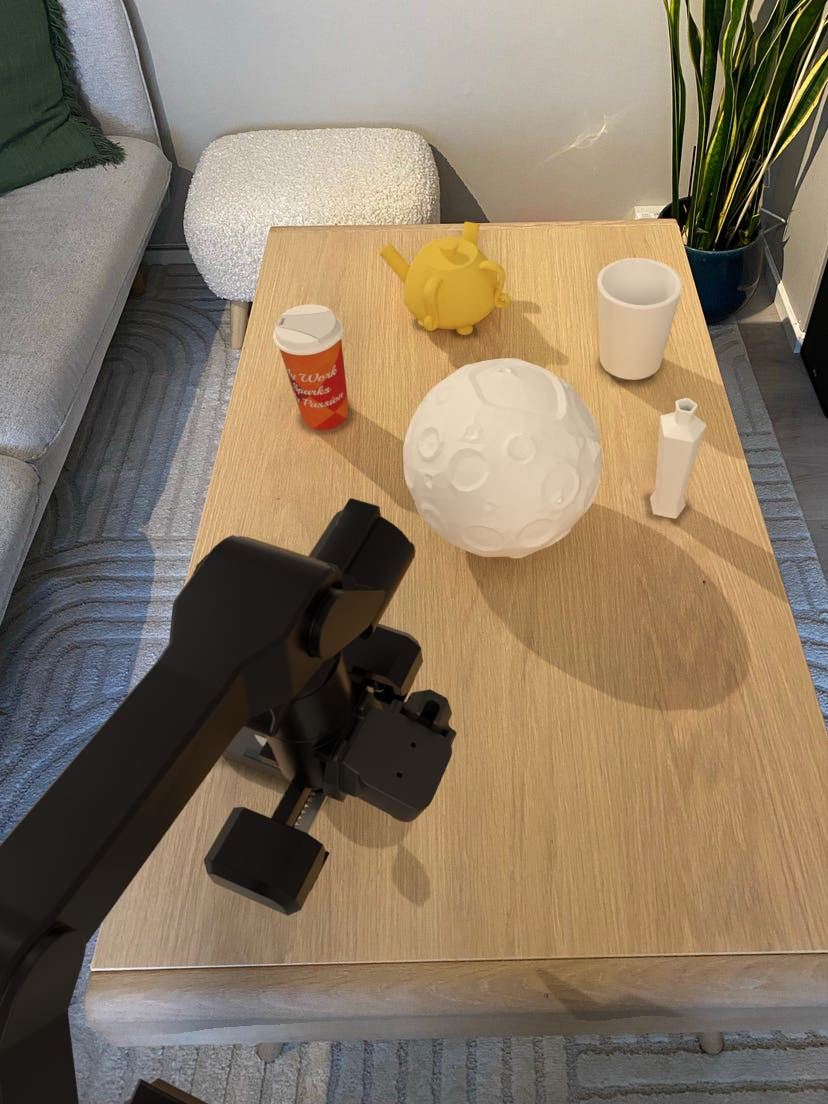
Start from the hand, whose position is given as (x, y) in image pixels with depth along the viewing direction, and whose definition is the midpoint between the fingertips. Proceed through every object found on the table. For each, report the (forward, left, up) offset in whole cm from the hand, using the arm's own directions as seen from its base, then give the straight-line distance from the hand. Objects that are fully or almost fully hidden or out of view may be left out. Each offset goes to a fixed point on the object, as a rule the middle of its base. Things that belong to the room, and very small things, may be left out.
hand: (341, 803), depth 65 cm
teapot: (+70, +22, -13) cm, 74 cm away
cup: (+67, -4, -13) cm, 68 cm away
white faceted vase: (+46, -14, -13) cm, 50 cm away
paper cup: (+46, +28, -13) cm, 55 cm away
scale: (+9, +11, -13) cm, 19 cm away
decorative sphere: (+38, +2, -13) cm, 40 cm away
